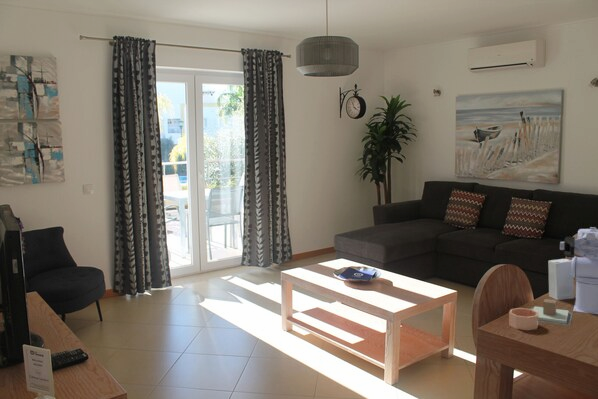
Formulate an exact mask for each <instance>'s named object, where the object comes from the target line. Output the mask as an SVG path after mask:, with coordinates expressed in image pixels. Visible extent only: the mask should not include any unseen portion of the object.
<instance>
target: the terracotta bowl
mask: <svg viewBox="0 0 598 399" xmlns="http://www.w3.org/2000/svg"><path fill="white" fill-rule="evenodd" d="M508 326H510V327H512V328H514V329H516V330H523V331H532V330H538V327H539V321H538V312H536V311H534V310H532V309H531V308H524V307H517V308H511V309H510V310H509V312H508Z"/></svg>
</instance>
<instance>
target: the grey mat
mask: <svg viewBox="0 0 598 399" xmlns="http://www.w3.org/2000/svg"><path fill="white" fill-rule="evenodd" d="M530 309H532V310H533V309H534V307H530ZM573 314H574V313H573V312H570V311H569V314H568V318H567V323H566V324H564V323H557V322H549V321H542V320H538V323H539V322H541V323H547V324H554V325H555V324H556V325H563V326H569V327H570V326H571V323H572V318H573Z"/></svg>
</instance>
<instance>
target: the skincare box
mask: <svg viewBox="0 0 598 399" xmlns="http://www.w3.org/2000/svg"><path fill="white" fill-rule="evenodd" d="M547 265H548V266H547V268H548V297H549V298H550V297H551V299H552V298H553V300H556V301H561V300H571V299H575V278H573V277H572V275H571V265H572V259H567V258H560V259H559V258H558V259H551V260H548V264H547Z"/></svg>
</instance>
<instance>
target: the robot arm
mask: <svg viewBox="0 0 598 399" xmlns="http://www.w3.org/2000/svg"><path fill="white" fill-rule="evenodd" d="M559 250H560V251H563V255H564V257H566V258H571V260H572V265H571V275H572V277H573V278H574V279H575V283H576V284H575V301H574V305H573V312H577V313H578V312H579V313H586V314H592V315H593V314H594V315H598V228H597V227H596V226H595V227H594V226H593V227H592V226H590V227H589V228H579V229H578V231H577V238H576V239H575V236H566V237H565V238H564V241H560V242H559ZM575 255H578V256H575ZM579 256H580V257H579Z"/></svg>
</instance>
